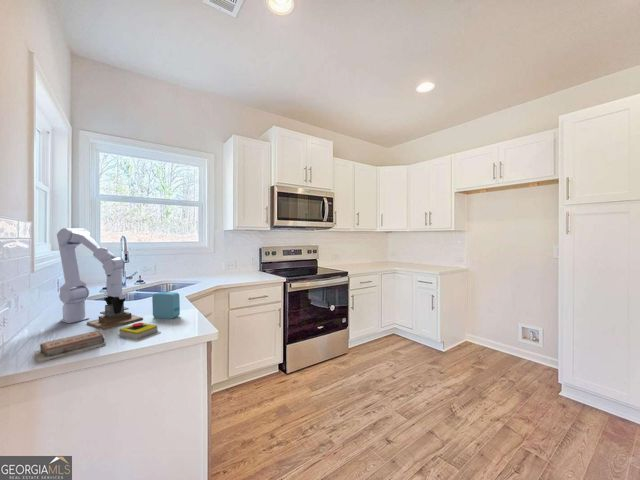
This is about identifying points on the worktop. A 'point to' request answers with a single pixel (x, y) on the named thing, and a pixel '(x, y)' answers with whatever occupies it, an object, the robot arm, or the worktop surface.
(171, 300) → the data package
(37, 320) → the worktop surface
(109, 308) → the servo block
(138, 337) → the emergency button
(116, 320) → the dock
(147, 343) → the worktop surface
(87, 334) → the packaged product
